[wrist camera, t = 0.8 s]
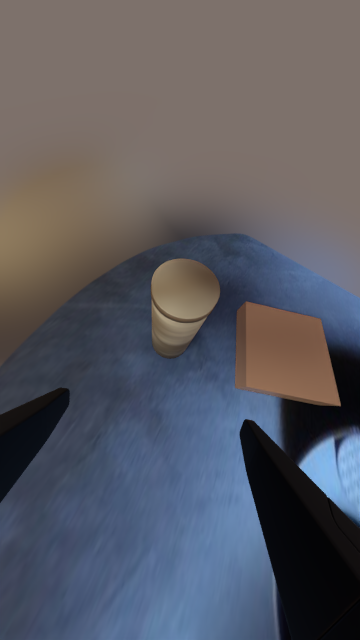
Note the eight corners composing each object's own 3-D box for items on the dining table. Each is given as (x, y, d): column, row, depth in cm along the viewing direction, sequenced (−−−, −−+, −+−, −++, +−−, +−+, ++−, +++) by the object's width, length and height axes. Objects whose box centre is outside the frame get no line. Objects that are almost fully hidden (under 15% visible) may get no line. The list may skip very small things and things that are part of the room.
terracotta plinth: (304, 326, 28) (320, 318, 26) (318, 405, 23) (340, 406, 20) (236, 310, 28) (245, 301, 25) (235, 388, 22) (246, 386, 20)
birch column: (194, 348, 24) (234, 299, 12) (162, 365, 22) (172, 328, 10) (176, 319, 25) (197, 251, 14) (145, 333, 24) (138, 269, 12)
